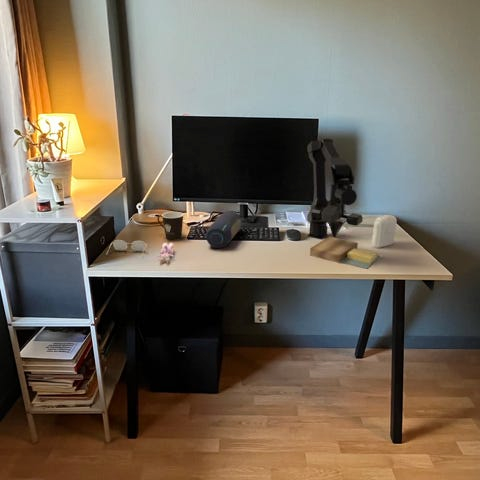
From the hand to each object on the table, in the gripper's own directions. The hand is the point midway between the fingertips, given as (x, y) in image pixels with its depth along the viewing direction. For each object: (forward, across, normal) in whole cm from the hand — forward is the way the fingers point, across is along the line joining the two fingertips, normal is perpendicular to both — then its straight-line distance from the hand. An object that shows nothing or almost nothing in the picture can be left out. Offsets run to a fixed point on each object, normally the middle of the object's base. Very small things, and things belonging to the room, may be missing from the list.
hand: (334, 237), depth 176 cm
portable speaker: (+7, -42, -14) cm, 45 cm away
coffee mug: (+6, -62, -25) cm, 67 cm away
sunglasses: (+7, -61, -49) cm, 79 cm away
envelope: (+7, -9, +40) cm, 41 cm away
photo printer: (+6, +12, +19) cm, 24 cm away
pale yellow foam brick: (+6, +11, 0) cm, 13 cm away
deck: (+6, 0, 0) cm, 6 cm away
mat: (+6, +11, 0) cm, 13 cm away
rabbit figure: (+6, -48, -42) cm, 64 cm away
